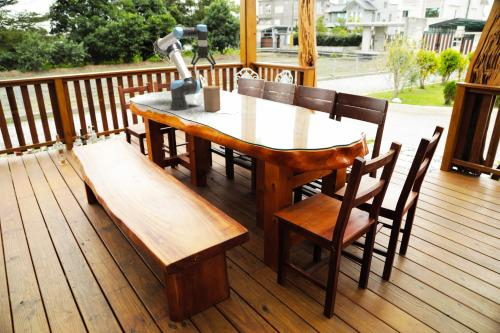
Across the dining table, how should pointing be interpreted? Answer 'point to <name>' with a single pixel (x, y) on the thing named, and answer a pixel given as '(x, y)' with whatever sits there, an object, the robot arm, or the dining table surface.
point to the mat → (228, 111)
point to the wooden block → (211, 98)
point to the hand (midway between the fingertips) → (203, 73)
